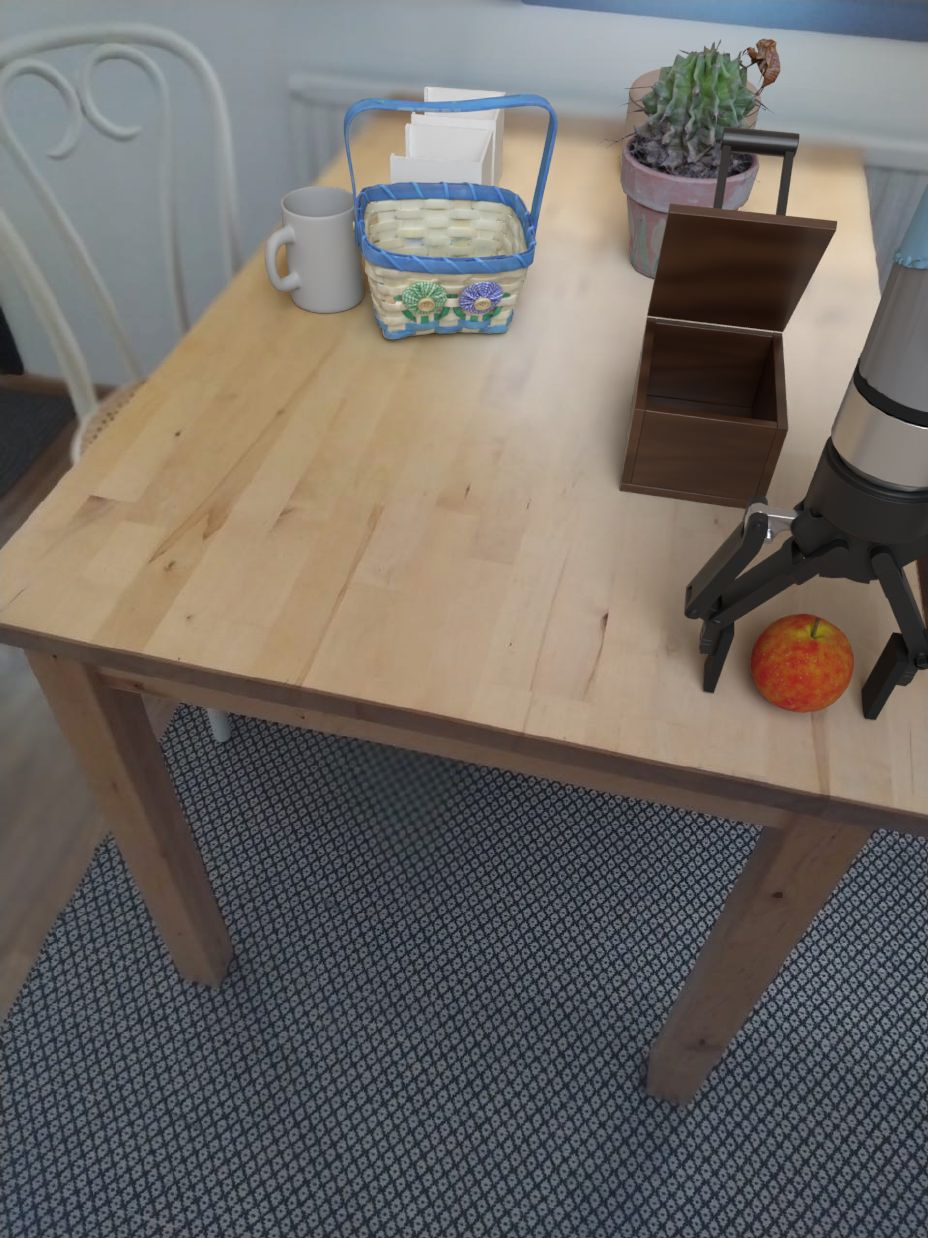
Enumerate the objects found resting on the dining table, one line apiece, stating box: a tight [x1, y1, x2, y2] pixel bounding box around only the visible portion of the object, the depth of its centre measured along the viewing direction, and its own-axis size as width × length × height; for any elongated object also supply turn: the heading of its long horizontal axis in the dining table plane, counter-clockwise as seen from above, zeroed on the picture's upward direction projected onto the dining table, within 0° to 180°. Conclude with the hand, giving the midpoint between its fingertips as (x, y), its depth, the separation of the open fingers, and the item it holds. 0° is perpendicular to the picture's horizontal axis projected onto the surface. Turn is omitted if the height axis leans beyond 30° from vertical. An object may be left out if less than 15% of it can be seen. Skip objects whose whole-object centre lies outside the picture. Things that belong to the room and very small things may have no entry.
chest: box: [619, 316, 789, 510], centre depth 86 cm, size 16×13×9 cm
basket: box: [343, 93, 558, 340], centre depth 96 cm, size 21×16×24 cm
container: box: [620, 68, 762, 164], centre depth 130 cm, size 18×18×12 cm
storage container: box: [389, 86, 507, 220], centre depth 121 cm, size 25×11×11 cm, turn 172°
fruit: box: [749, 613, 855, 714], centre depth 66 cm, size 7×7×8 cm
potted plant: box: [597, 38, 781, 279], centre depth 106 cm, size 18×20×25 cm
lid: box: [646, 127, 838, 333], centre depth 80 cm, size 17×13×10 cm
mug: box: [264, 185, 365, 314], centre depth 103 cm, size 12×8×11 cm
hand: (787, 691), depth 69 cm, fingers open, 11 cm apart
